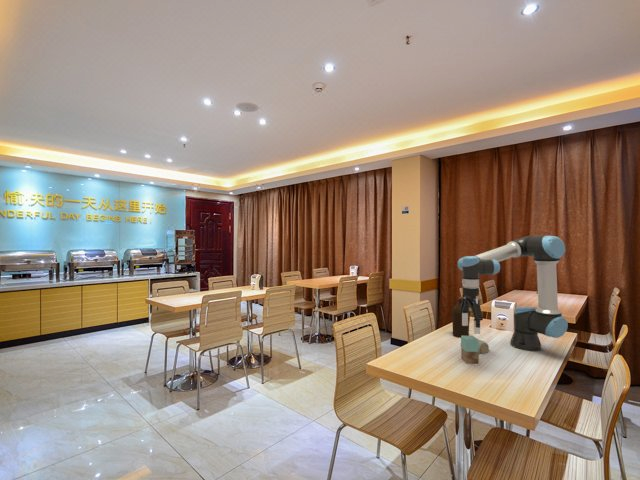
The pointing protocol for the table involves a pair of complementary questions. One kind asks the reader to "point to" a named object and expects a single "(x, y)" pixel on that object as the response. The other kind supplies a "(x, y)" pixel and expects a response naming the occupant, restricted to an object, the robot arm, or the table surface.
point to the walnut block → (470, 357)
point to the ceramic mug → (483, 347)
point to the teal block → (469, 343)
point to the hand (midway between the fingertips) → (470, 329)
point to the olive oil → (459, 321)
